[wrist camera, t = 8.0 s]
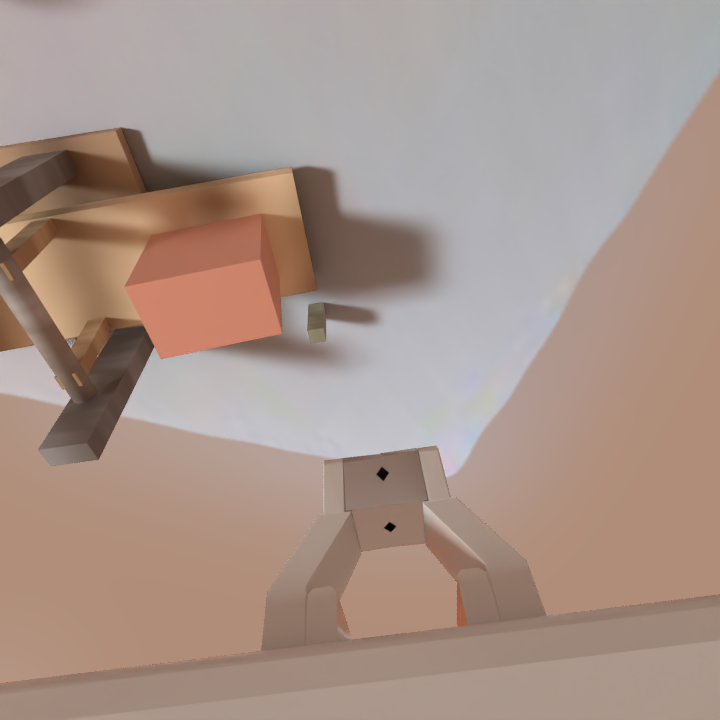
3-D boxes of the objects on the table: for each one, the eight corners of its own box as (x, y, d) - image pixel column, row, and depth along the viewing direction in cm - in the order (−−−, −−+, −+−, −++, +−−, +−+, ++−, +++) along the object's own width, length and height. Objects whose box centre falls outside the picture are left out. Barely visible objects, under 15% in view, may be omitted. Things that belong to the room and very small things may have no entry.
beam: (-97, 374, 29) (-179, 455, 23) (-223, 239, 23) (-367, 305, 18) (318, 293, 30) (329, 353, 25) (287, 148, 25) (293, 185, 19)
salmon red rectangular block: (179, 299, 27) (160, 358, 23) (151, 235, 25) (124, 286, 20) (279, 278, 28) (282, 333, 23) (261, 213, 25) (260, 259, 21)
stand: (90, 349, 32) (2, 480, 23) (-29, 151, 24) (-230, 234, 16) (325, 315, 32) (327, 435, 23) (282, 101, 24) (258, 159, 15)
